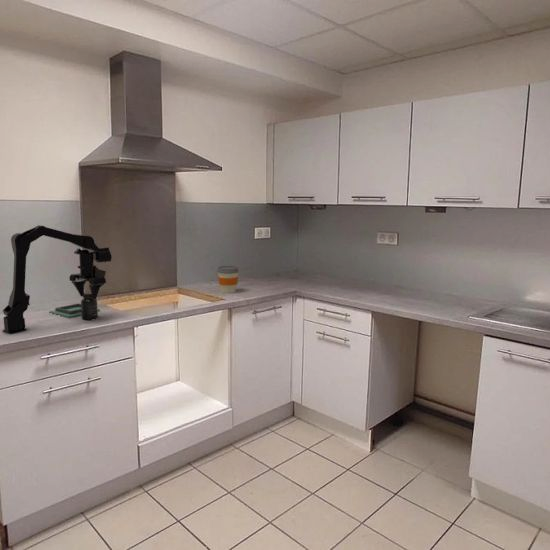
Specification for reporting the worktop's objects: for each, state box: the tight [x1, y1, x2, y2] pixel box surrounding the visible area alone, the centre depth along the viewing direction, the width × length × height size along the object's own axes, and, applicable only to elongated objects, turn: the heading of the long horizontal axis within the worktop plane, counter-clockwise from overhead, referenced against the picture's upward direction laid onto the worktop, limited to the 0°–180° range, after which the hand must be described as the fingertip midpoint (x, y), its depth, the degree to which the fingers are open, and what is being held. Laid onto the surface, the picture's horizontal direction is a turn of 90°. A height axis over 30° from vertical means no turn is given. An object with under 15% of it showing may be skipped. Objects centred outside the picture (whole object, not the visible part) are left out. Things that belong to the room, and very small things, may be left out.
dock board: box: [48, 302, 101, 319], centre depth 206 cm, size 16×16×2 cm
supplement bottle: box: [80, 291, 99, 321], centre depth 194 cm, size 7×7×12 cm
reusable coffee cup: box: [217, 265, 239, 294], centre depth 259 cm, size 13×13×15 cm
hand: (88, 297), depth 194 cm, fingers open, 9 cm apart
